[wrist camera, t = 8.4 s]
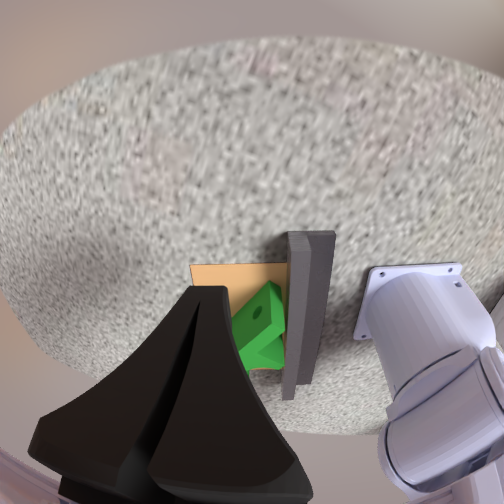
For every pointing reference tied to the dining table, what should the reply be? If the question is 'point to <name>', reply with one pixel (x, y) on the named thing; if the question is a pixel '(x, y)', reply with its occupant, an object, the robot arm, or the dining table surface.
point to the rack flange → (285, 297)
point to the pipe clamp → (261, 329)
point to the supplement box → (499, 321)
